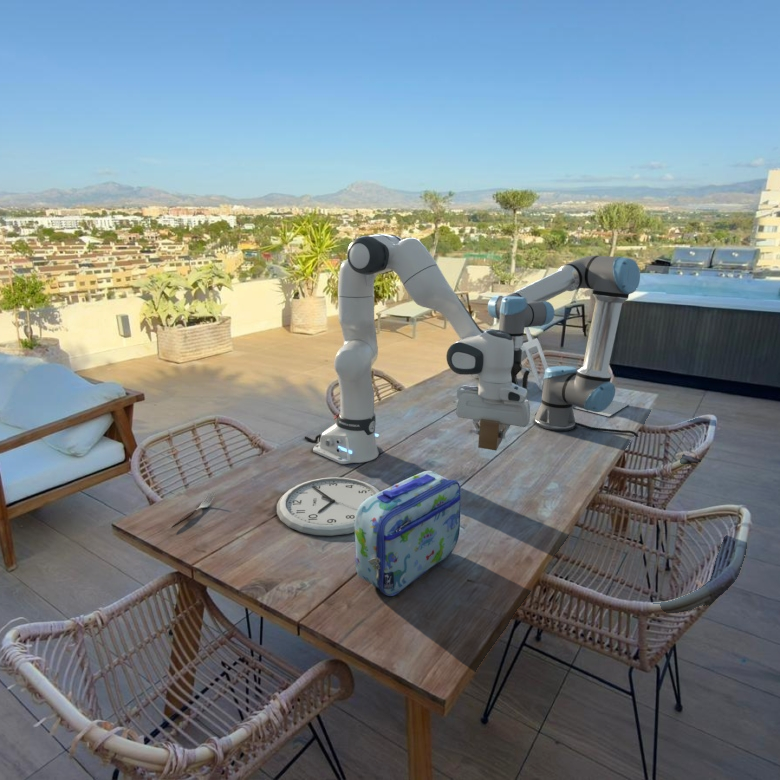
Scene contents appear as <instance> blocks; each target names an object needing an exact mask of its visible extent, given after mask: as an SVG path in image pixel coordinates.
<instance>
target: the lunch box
mask: <svg viewBox="0 0 780 780" xmlns="http://www.w3.org/2000/svg"><path fill="white" fill-rule="evenodd" d="M380 491H381V492H379V493H377V494H375V495H373V496H371V497H369V498H367V499H366V500H364V501H363V502H362V504H361V505H360V506H359V508H358V510H357V513H356V516H355V532H354V543H355V545H354V546H355V548H354V551H355V552H354V553H355V570H356V573H357V577H359V578H360V579H361V580H362V581H363V580H364V581H365V582H367V583H369V584H371V585H373V586H374V587H375V588H377V589H379V591H380V592H381V593H382V594H384V595H386V596H387V597H394V596H396V595H398V594H399V593H400V592H402V591H403V590H404V589H405V588H407V587H408V586H409V585H410V584H412V583H413V582H414V581H416V580H417V579H418V578H421V576H423V575H424V574H425V573H427V572H428V571H429V570H430V569H431V568H432V567H434V566H435V565H437V564H438V563H440V562H442V561H443V560H445V559H446V558H448V557H449V556H450V555H451V554H452V552H453V551H454V550H455V548H456V545H457V544H458V540H459V537H460V529H461V485H460V483H459V482H458V481H457V480H456V479H449V478H446V477H444V476H442V475H440V474H439V473H437V472H434V471H432V470H425V471H422V472H419V473H417V474H415V475H413V476H410V477H408V478H406V479H403V480H401V481H400V482H398V483H395V484H393V485H392V486H389V487H387V488H385V489H384V490H380Z"/></svg>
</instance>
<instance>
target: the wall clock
mask: <svg viewBox="0 0 780 780" xmlns="http://www.w3.org/2000/svg"><path fill="white" fill-rule="evenodd" d="M381 491H382V490H380V489H379V488H377V487H376V486H374V485H372V484H371V483H369V482H365V481H362V480H359V479H355V478H349V477H338V476H337V477H335V476H333V477H332V476H331V477H322V478H317V479H312V480H307V481H305V482H302V483H299V484H297V485H295V486H293V487H292V488H290V489H288V490H287V491H286V492H285V493H284V494H283V495H281V496H280V498H279V499H278V502H277V503H276V515H277V517H278V518H279V520H280V521H281V522H282V523H283V524H285V525H286V526H287V527H288V528H290V529H293V530H295V531H297V532H299V533H303V534H308V535H312V536H327V537H328V536H329V537H331V536H332V537H333V536H342V535H350V534H352V533H355V516H356V513H357V510H358V508H359V506H360V505H361V504H362V502H363V501H364V500H366V499H367V498H369V497H371V496H373V495H375V494H377V493H379V492H381Z"/></svg>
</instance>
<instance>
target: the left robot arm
mask: <svg viewBox="0 0 780 780" xmlns="http://www.w3.org/2000/svg"><path fill="white" fill-rule="evenodd" d="M346 250H347V251H346V259H345V260H344V261H342V263H341V264H340V267H339V272H338V280H337V281H338V282H337V283H338V284H337V308H338V312H337V313H338V322H339V324H340V328H341V333H342V338H343V345H342V346H341V347H340V348H339V349H338V351H337V353H336V354H335V357H334V361H333V366H334V370H335V372H336V377H337V382H338V387H339V400H340V401H339V404H340V410H339V411H340V412H338V413H337V414H336V415H333V420H336V422H335V423H333V424H332V425H331V426H329V427H328V428H326V429H325V430H324V431H323V432H320V433H319V434H316V436H315V437H314V439H313V438H310V437H309V436H304V439H305V440H307V441H308V442H311V443H316V444H315V445H314V446H313V448H312V452H313V453H315V454H317V455H320V456H321V457H324V458H326V459H329V460H331V461H333V462H336V463H337V464H339V465H347V464H348V465H349V464H354V463H355V464H357V463H359V464H361V463H367V462H370V461H373V460H375V459H376V458H378V456H379V455H380V452H379V448H378V445H377V440H376V437H377V438H378V437H379V433H376V425H377V423H376V421H377V420H376V413H375V389H374V385H373V378H372V369H373V366H374V364H375V363H376V362H377V359H378V356H379V347H378V336H377V329H376V322H375V280H376V278H377V276H378V275H386V274H388V273H392V272H394V273H395V274H396V275H397V277H398V279H399V280H400V282H401V284H402V286H403V288H404V289H405V291H406V292H407V294H408V296H409V297H410V299H411V300H412V301H413V302H414V303H415V304H416V305H418V306H420V307H422V308H425V309H429V310H433V311H435V312H437V313H439V314H441V315H442V316H443V317H444V318H445V319H446V320H447V322H448V323H449V324H450V326H451V327H452V329H453V330H454V332H455V334H456V335H457V336H458V338H459V340H457V341H456V342H454V343H453V344H450V346H449V347H448V349H447V351H446V356H445V357H446V363H447V365H448V367H449V368H450V370H451V371H452V372H453V373H455V374H457V375H464V376H465V375H467V376H468V375H469V376H471V374H478V375H479V377H478V386H472V385H471V386H470V385H465V384H464V385H462V386H460V387H458V389H457V390H456V398H457V399H458V400H457V404H456V411H455V413H456V416H457V418H459V419H460V418H461V419H467V420H472V424H473V426H474V428H475V434H476V435H478V436H479V430H480V420H481V419H486V420H493V421H500V424H504V428H505V429H504V430H503V431H502V430H501V431H500V432H499V438H503V439H505V438H506V433H507V432H508V430H509V429H510V427H511V426H514V427H519V428H520V427H521V428H526V427H527V426H528V425H529V423H530V418H531V412H530V411H531V409H530V407H531V406H530V402H529V399H528V398H527V397H528V389H527V390H526V389H525V388H523V387H522V386H520V385H519V384H518V385H516V384H514V383H512V377H511V369H512V367H513V360H514V343H513V339H512V337H511V336H510V335H509V334H508V333H506V332H504V331H501V330H499V329H493V328H490V329H486V330H485V331H483V330H482V328H481V327H480V326H479V325H478V323H476V321H475V319H474V318H473V317H472V315H471V313H470V312H469V311H468V309H467V308H466V306H465V304H464V303H463V302H462V300H461V299H460V297H459V296H458V294H457V293H456V292H455V291H454V289H453V288H452V286H451V285H450V284H449V282H448V281H447V279H446V277H445V275H444V273H443V272H442V271H441V269H440V267H439V265H438V264H437V262H436V260H435V258H434V257H433V255H432V254H431V253H430V252H429V250H428V249H427V248H426V246H425V245H424V244H423V243H422V242H421V240H419V239H418V238H415V237H407V238H404V239H402V238H401V237H400V236H397V235H395V234H384V233H375V234H371V235H362V236H359V237H357V238H355V239H354V240H352V241H351V242H350V243H349V246H348V247H347V249H346ZM503 439H502V440H503ZM317 442H318V443H317Z"/></svg>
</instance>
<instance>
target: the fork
mask: <svg viewBox="0 0 780 780" xmlns="http://www.w3.org/2000/svg"><path fill="white" fill-rule="evenodd" d="M216 495H217V494H212V493H208V494H207V495H206V497H205V498H204V499H203V501H202V502H201V503H200V505H198V507H197V508H196V509H193V510H192V511H190V512H188V513H187V514H185V515H183V517H181V518H180V519H179V520H178V521H176V522H175V523H174V524H173V525H172V526H171V529H173V528H175V527H176V526H178V525H179V524H181V523H183V522H184V521H186V520H188V519H189V518H191V517H192V516H193V515H194V514H195V513H197V511H198V510H200V509H207V508H208V507H210V505H211V504H212V502H213V501H214V499H215V497H216Z"/></svg>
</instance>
